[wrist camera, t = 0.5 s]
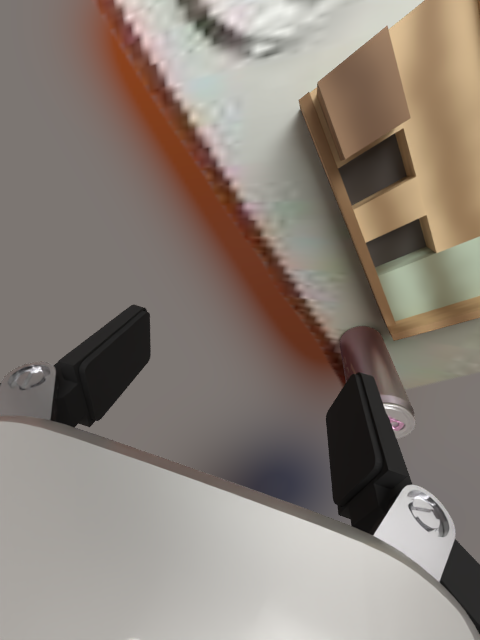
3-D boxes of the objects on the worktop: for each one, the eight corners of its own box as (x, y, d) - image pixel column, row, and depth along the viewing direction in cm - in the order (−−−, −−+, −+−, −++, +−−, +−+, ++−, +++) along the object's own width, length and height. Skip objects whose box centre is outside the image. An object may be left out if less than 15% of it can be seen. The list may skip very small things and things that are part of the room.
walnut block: (374, 49, 20) (387, 25, 17) (395, 125, 22) (410, 118, 19) (316, 95, 22) (317, 82, 19) (340, 160, 24) (345, 159, 21)
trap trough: (466, -24, 19) (516, -85, 14) (512, 278, 28) (550, 298, 24) (300, 108, 25) (297, 94, 21) (382, 318, 35) (393, 340, 30)
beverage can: (370, 359, 39) (398, 447, 26) (333, 349, 39) (344, 430, 27) (389, 329, 35) (431, 415, 23) (348, 319, 36) (368, 396, 24)
